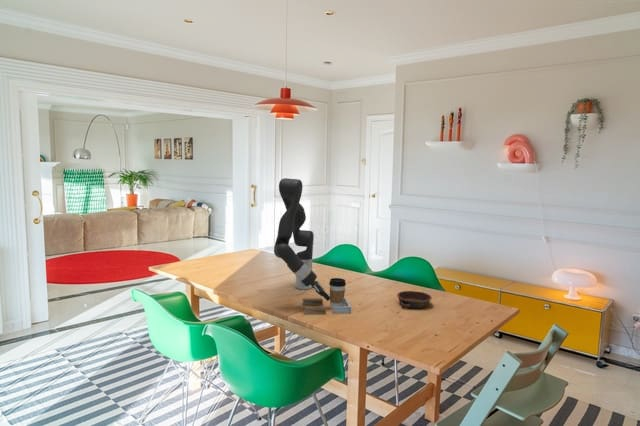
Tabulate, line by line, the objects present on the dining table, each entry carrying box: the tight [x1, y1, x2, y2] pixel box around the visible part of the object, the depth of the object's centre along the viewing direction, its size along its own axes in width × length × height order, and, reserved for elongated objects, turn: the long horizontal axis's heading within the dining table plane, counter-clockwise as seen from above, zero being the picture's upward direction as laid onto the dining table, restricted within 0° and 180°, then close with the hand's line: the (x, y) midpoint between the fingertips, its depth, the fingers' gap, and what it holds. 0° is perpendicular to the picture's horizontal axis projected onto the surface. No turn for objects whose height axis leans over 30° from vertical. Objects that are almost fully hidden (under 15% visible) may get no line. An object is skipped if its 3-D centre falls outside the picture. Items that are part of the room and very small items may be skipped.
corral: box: [329, 297, 352, 314], centre depth 219 cm, size 14×8×3 cm, turn 5°
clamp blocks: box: [302, 297, 327, 315], centre depth 218 cm, size 17×10×2 cm, turn 5°
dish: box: [396, 290, 432, 309], centre depth 229 cm, size 18×22×5 cm
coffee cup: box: [328, 277, 347, 311], centre depth 218 cm, size 8×8×15 cm
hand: (329, 299), depth 218 cm, fingers closed
